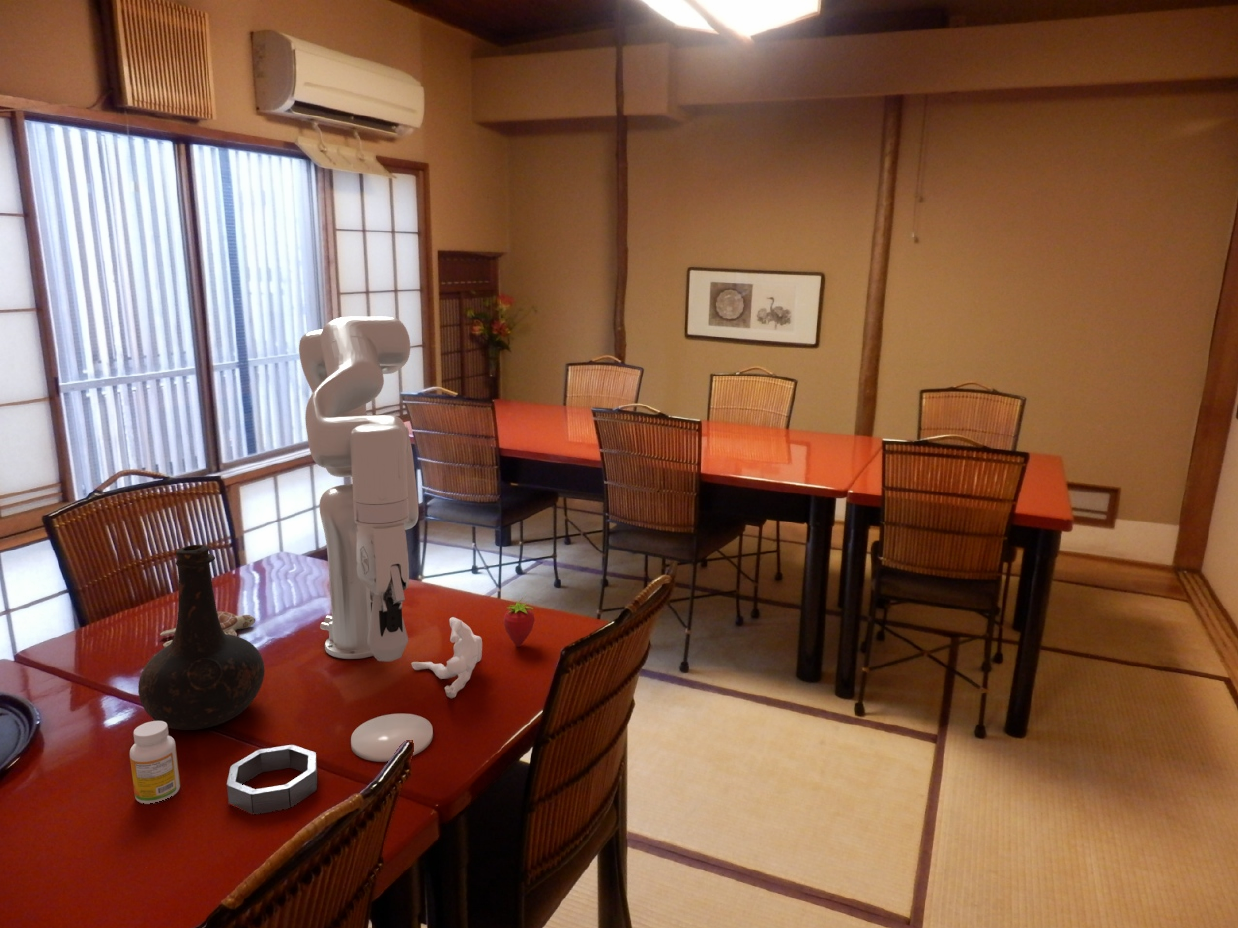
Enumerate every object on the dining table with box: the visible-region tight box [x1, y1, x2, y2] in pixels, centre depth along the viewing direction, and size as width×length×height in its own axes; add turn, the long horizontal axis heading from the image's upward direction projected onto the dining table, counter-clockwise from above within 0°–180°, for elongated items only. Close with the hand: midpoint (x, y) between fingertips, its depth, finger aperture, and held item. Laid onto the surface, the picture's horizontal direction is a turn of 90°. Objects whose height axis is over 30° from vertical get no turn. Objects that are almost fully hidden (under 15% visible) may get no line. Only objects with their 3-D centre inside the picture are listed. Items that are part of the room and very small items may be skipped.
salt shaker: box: [367, 586, 409, 662], centre depth 122 cm, size 6×6×13 cm
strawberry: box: [503, 598, 535, 648], centre depth 158 cm, size 6×8×10 cm
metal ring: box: [226, 744, 318, 815], centre depth 113 cm, size 11×11×3 cm
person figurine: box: [410, 616, 483, 699], centre depth 145 cm, size 13×13×18 cm
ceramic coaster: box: [350, 713, 434, 763], centre depth 126 cm, size 12×12×1 cm
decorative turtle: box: [159, 610, 256, 648], centre depth 161 cm, size 18×17×5 cm
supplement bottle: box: [129, 720, 181, 805], centre depth 111 cm, size 5×5×10 cm
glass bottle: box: [137, 544, 266, 731], centre depth 129 cm, size 18×18×28 cm
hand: (387, 629), depth 122 cm, fingers closed on salt shaker, 3 cm apart
